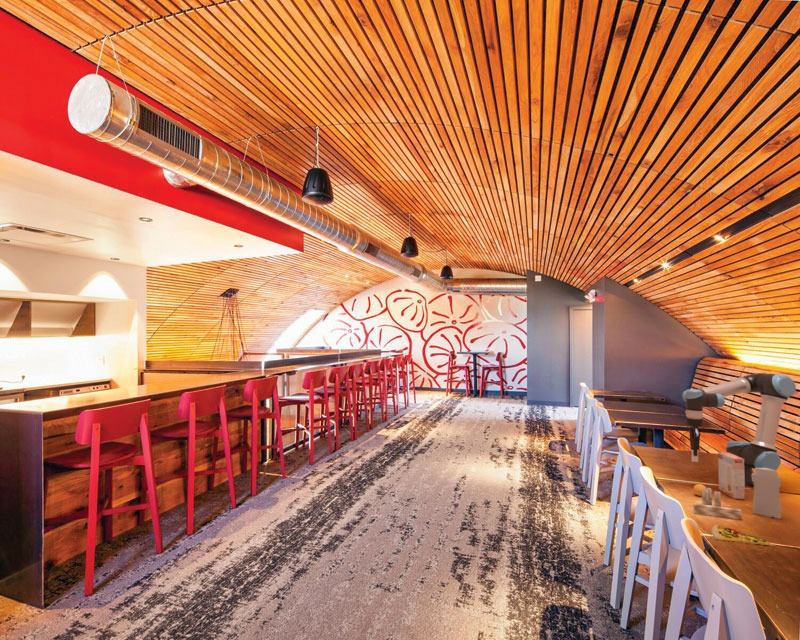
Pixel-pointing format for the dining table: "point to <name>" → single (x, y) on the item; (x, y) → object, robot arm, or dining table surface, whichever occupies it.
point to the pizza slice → (736, 536)
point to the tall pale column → (766, 492)
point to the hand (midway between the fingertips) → (694, 461)
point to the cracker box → (731, 475)
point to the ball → (699, 489)
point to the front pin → (709, 496)
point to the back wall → (717, 511)
